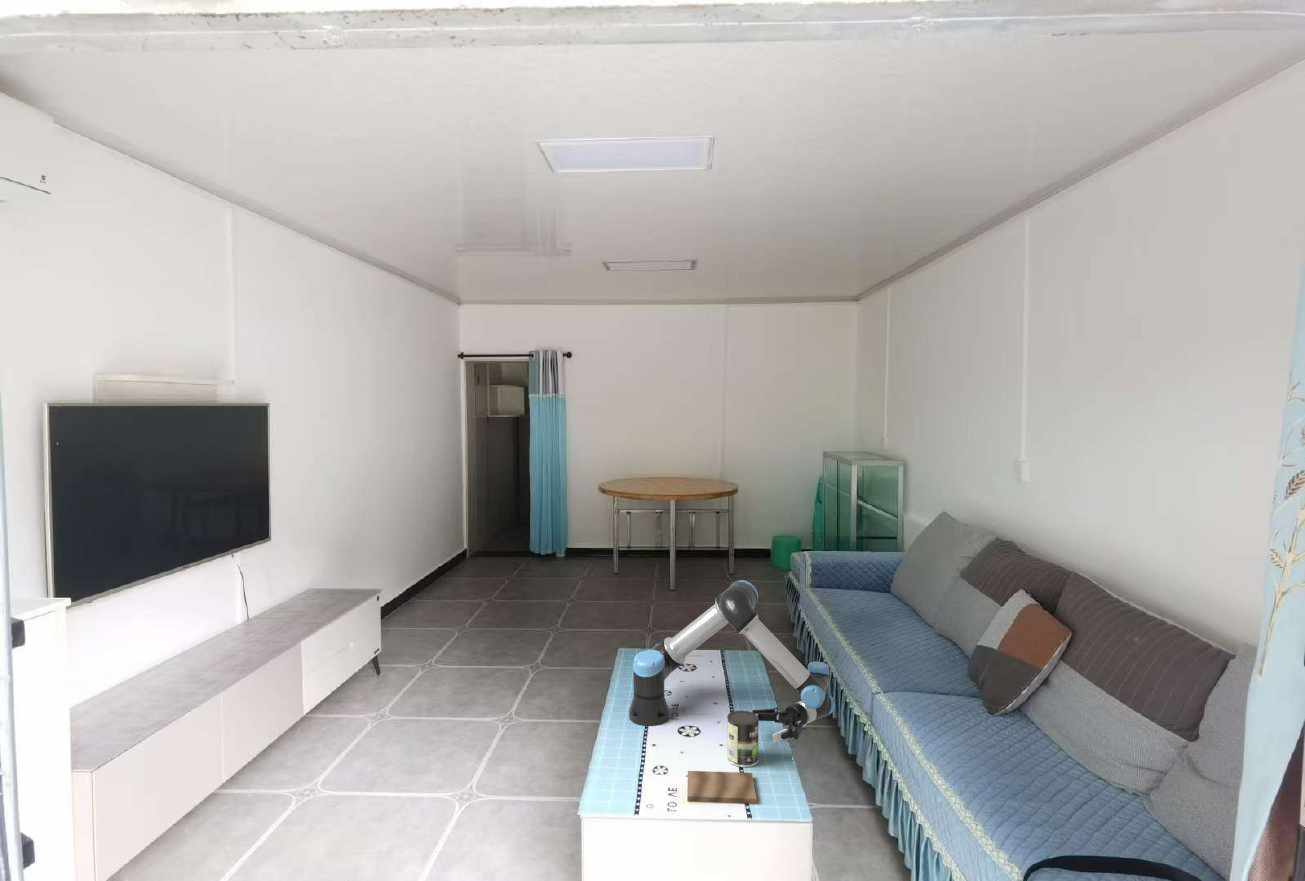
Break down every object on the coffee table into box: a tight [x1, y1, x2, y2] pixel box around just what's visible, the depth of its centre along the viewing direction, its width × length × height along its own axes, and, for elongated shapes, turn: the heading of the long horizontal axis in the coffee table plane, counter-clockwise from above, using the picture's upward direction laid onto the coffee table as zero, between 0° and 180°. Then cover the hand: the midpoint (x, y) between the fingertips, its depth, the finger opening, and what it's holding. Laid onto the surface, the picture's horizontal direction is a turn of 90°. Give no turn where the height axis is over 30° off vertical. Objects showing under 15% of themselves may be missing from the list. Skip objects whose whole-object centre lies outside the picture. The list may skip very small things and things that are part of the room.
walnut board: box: [686, 770, 757, 805], centre depth 196 cm, size 20×14×2 cm
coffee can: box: [726, 710, 760, 768], centre depth 213 cm, size 10×10×14 cm
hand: (757, 730), depth 217 cm, fingers open, 13 cm apart
